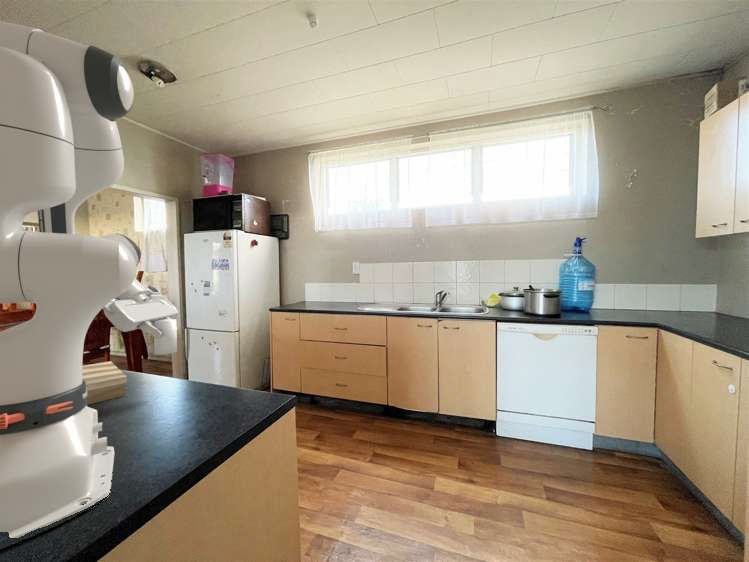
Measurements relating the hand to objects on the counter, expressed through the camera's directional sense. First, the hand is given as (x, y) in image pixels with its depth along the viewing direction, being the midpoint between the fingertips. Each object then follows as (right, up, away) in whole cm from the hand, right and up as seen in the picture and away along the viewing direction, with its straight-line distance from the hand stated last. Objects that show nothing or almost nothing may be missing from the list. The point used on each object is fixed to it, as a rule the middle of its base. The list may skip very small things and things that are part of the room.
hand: (168, 333), depth 81 cm
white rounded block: (-1, -5, 0) cm, 5 cm away
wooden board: (-24, -16, +2) cm, 29 cm away
